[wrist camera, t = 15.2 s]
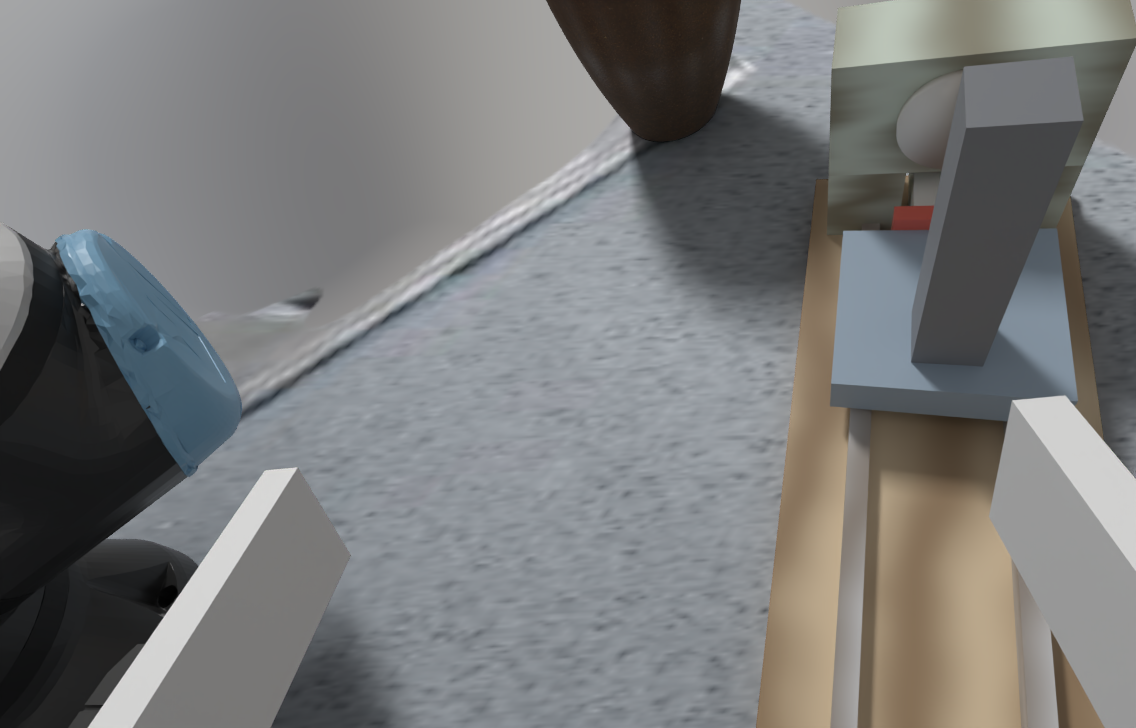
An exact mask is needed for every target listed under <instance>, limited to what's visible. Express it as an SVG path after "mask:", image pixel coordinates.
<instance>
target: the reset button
mask: <svg viewBox="0 0 1136 728" xmlns="http://www.w3.org/2000/svg"><path fill="white" fill-rule="evenodd" d="M940 176H941V171H938V172H914V173H909V179H908V206H894V212H893V219H892V226H891V230H929V228H930V223H931V219H932V214H933V209H934V204H935V200H936V195H937V190H938V186H939V181H940Z"/></svg>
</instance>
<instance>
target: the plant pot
mask: <svg viewBox="0 0 1136 728" xmlns="http://www.w3.org/2000/svg"><path fill="white" fill-rule="evenodd" d="M546 1H547V3H548V5H549V7H550V9H551V11H552V13H553V14H554V16H555V18H556V20H557V22H558V24H559V26H560V27H561V29H562V31H563V33H564V35H565V36H566V38H567V40H568V42H569V43H570V45H571V47H572V48H573V50H574V52H575V53H576V55H577V57H578V58H579V60H580V61H581V63H582V64H583V66H584V67H585V69H586V71H587V72H588V73H589V75H590V77H591V78H592V80H593V81H594V82H595V84H596V85H597V87H598V88H599V89H600V91H601V92H602V94H603V95H604V96H605V98H606V99H607V100H608V102H609V103H610V104H611V105H612V107H613V108H614V109H615V111H616V112H617V113H618V114H619V116H620V117H621V118H622V119H623V120H624V121H625V123H626V124H627V125H628V126H629V127H630V128H631V129H632V131H633V132H634V133H635V134H637V135H638V136H639V137H641V138H643V139H646V140H650V141H659V142H663V141H673V140H677V139H680V138H684V137H686V136H689V135H691V134H692V133H694V132H696V131H698V130H699V129H701V128H702V127H703V126H704V125H705V124H706V123H707V122H708V121H709V120H710V119H711V118H712V116H713V115H714V113H715V111H716V108H717V105H718V101H719V98H720V95H721V92H722V88H723V85H724V81H725V77H726V74H727V70H728V66H729V61H730V57H731V53H732V48H733V44H734V39H735V34H736V28H737V22H738V17H739V11H740V4H741V0H546Z"/></svg>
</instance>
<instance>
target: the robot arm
mask: <svg viewBox="0 0 1136 728" xmlns="http://www.w3.org/2000/svg"><path fill="white" fill-rule="evenodd" d="M55 241H56V242H55V243H54V245H53V246H52V248H51V249H50V250H47V249H44V248H42V247H41V246H39V245H37V244H35V243H34V242H32V241H31V240H29V239H27V238H26V237H24V236H23V235H21V234H20V233H18V232H16V231H15V230H13V229H12V228H10V227H8V226H7V225H5V224H3V223H2V222H0V728H271V726H272V723H273V721H274V719H275V717H276V715H277V713H278V711H279V708H280V706H281V704H282V702H283V700H284V698H285V696H286V693H287V691H288V689H289V687H290V685H291V683H292V681H293V679H294V676H295V674H296V672H297V670H298V668H299V666H300V664H301V661H302V659H303V657H304V655H305V653H306V651H307V649H308V646H309V644H310V642H311V640H312V638H313V636H314V634H315V631H316V629H317V627H318V625H319V623H320V621H321V619H322V616H323V614H324V612H325V610H326V608H327V606H328V604H329V601H330V599H331V597H332V595H333V593H334V591H335V589H336V586H337V584H338V582H339V580H340V578H341V576H342V574H343V571H344V569H345V567H346V565H347V563H348V561H349V559H350V556H351V555H350V553H349V551H348V550H347V548H346V546H345V545H344V543H343V541H342V540H341V538H340V536H339V535H338V533H337V531H336V530H335V528H334V526H333V525H332V523H331V522H330V520H329V518H328V517H327V515H326V513H325V512H324V510H323V508H322V507H321V505H320V503H319V502H318V500H317V498H316V497H315V495H314V493H313V492H312V490H311V488H310V487H309V485H308V484H307V482H306V480H305V479H304V477H303V475H302V474H301V472H300V470H299V469H298V467H297V468H286V469H276V470H265V471H264V473H263V474H262V476H261V477H260V479H259V480H258V481H257V483H256V484H255V486H254V487H253V489H252V490H251V492H250V493H249V495H248V496H247V497H246V499H245V500H244V502H243V503H242V505H241V506H240V508H239V509H238V510H237V512H236V513H235V515H234V516H233V518H232V519H231V521H230V522H229V524H228V525H227V526H226V528H225V529H224V531H223V532H222V534H221V535H220V537H219V538H218V539H217V541H216V542H215V544H214V545H213V547H212V548H211V550H210V551H209V553H208V554H207V555H206V557H205V558H204V560H203V561H202V563H201V564H200V566H199V567H198V566H197V564H196V563H195V562H194V561H193V560H192V559H190V558H189V557H188V556H186V555H185V554H183V553H181V552H179V551H176V550H174V549H171V548H168V547H166V546H163V545H160V544H157V543H154V542H151V541H145V540H138V539H106V538H108V537H109V536H110V535H112V534H113V533H114V532H115V531H117V530H118V529H119V528H121V527H122V526H123V525H125V524H126V523H127V522H129V521H130V520H131V519H133V518H134V517H135V516H137V515H138V514H139V513H140V512H142V511H143V510H144V509H146V508H147V507H148V506H150V505H151V504H152V503H154V502H155V501H156V500H158V499H159V498H160V497H162V496H163V495H164V494H165V493H167V492H168V491H169V490H171V489H172V488H173V487H175V486H176V485H177V484H179V483H180V482H181V481H183V480H184V479H185V478H187V477H190V476H191V475H193V474H194V473H195V472H196V471H197V469H198V465H199V464H201V463H202V462H203V461H204V460H205V459H206V458H207V457H208V456H210V455H211V454H212V453H213V452H214V451H215V450H216V449H217V448H219V447H220V446H221V445H222V444H223V443H224V442H225V441H226V440H227V439H229V438H230V437H231V436H232V435H233V434H234V432H235V430H236V429H237V426H238V424H239V422H240V418H241V413H242V402H241V398H240V395H239V392H238V389H237V387H236V385H235V383H234V381H233V378H232V377H231V375H230V373H229V371H228V370H227V368H226V366H225V365H224V363H223V362H222V360H221V358H220V357H219V355H218V354H217V352H216V351H215V350H214V348H213V347H212V345H211V344H210V343H209V341H208V340H207V339H206V337H205V336H204V334H203V333H202V332H201V331H200V329H199V328H198V327H197V325H196V324H195V323H194V321H193V320H192V319H191V318H190V317H189V315H188V314H187V313H186V312H185V311H184V310H183V308H182V307H181V306H180V305H179V304H178V302H177V301H176V300H175V299H174V298H173V297H172V296H171V294H170V293H169V292H168V291H167V290H166V289H165V288H164V287H163V286H162V284H161V283H159V281H158V280H157V279H156V278H155V277H154V276H153V275H152V274H151V273H150V272H149V271H148V270H147V269H146V268H145V267H144V266H143V265H142V264H141V263H140V262H139V261H138V260H137V259H135V258H134V257H133V256H132V255H131V254H130V253H129V252H128V251H127V250H125V249H124V248H123V247H122V246H121V245H119V244H118V243H117V242H115V241H114V240H112V239H111V238H109V237H108V236H106V235H104V234H100V233H98V232H97V231H94V230H88V229H84V230H80V231H77V232H75V233H73V234H71V235H62V236H60V237H58V238H57V239H56V240H55ZM989 518H990V520H991V522H992V523H993V525H994V527H995V529H996V531H997V532H998V534H999V536H1000V538H1001V540H1002V542H1003V543H1004V545H1005V547H1006V549H1007V551H1008V553H1009V554H1010V556H1011V558H1012V560H1013V562H1014V563H1015V565H1016V567H1017V569H1018V571H1019V573H1020V574H1021V576H1022V578H1023V580H1024V582H1025V583H1026V585H1027V587H1028V589H1029V591H1030V593H1031V594H1032V596H1033V598H1034V600H1035V602H1036V604H1037V605H1038V607H1039V609H1040V611H1041V613H1042V614H1043V616H1044V618H1045V620H1046V622H1047V624H1048V625H1049V627H1050V629H1051V631H1052V633H1053V634H1054V636H1055V638H1056V640H1057V642H1058V644H1059V645H1060V647H1061V649H1062V651H1063V653H1064V655H1065V656H1066V658H1067V660H1068V662H1069V664H1070V665H1071V667H1072V669H1073V671H1074V673H1075V675H1076V676H1077V678H1078V680H1079V682H1080V684H1081V685H1082V687H1083V689H1084V691H1085V693H1086V695H1087V696H1088V698H1089V700H1090V702H1091V704H1092V706H1093V707H1094V709H1095V711H1096V713H1097V715H1098V716H1099V718H1100V720H1101V722H1102V724H1103V726H1104V727H1105V728H1136V479H1135V478H1134V476H1133V475H1132V474H1131V473H1130V472H1129V470H1128V469H1127V468H1126V467H1125V466H1124V465H1123V463H1122V462H1121V461H1120V460H1119V459H1118V457H1117V456H1116V455H1115V454H1114V453H1113V451H1112V450H1111V449H1110V448H1109V447H1108V446H1107V444H1106V443H1105V442H1104V441H1103V440H1102V438H1101V437H1100V436H1099V435H1098V434H1097V432H1096V431H1095V430H1094V429H1093V428H1092V427H1091V425H1090V424H1089V423H1088V422H1087V421H1086V419H1085V418H1084V417H1083V416H1082V415H1081V413H1080V412H1079V411H1078V410H1077V409H1076V408H1075V406H1074V405H1073V404H1072V403H1071V402H1070V400H1069V399H1068V398H1067V397H1066V396H1065V395H1064V396H1054V397H1043V398H1032V399H1022V400H1012V403H1011V408H1010V413H1009V418H1008V423H1007V428H1006V433H1005V438H1004V443H1003V448H1002V453H1001V458H1000V463H999V468H998V473H997V478H996V483H995V488H994V493H993V498H992V503H991V508H990V513H989Z"/></svg>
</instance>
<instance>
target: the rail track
mask: <svg viewBox="0 0 1136 728" xmlns="http://www.w3.org/2000/svg"><path fill="white" fill-rule="evenodd" d="M1135 46H1136V23H1135V19H1134V14H1133V10H1132V6H1131V2H1130V0H894V1H886V2H879V3H871V4H864V5H857V6H849V7H842V8H838V15H837V24H836V33H835V43H834V52H833V62H832V77H831V110H830V144H829V177H828V179H816V186H815V195H814V204H813V214H812V223H811V232H810V241H809V250H808V259H807V268H806V277H805V286H804V295H803V305H802V314H801V323H800V332H799V341H798V350H797V359H796V368H795V377H794V386H793V395H792V405H791V414H790V423H789V432H788V441H787V450H786V459H785V468H784V477H783V486H782V496H781V505H780V514H779V523H778V532H777V541H776V550H775V559H774V568H773V577H772V587H771V596H770V605H769V614H768V623H767V632H766V641H765V650H764V659H763V668H762V678H761V687H760V696H759V705H758V714H757V723H756V728H1105V727H1104V726H1103V724H1102V722H1101V720H1100V718H1099V716H1098V715H1097V713H1096V711H1095V709H1094V707H1093V706H1092V704H1091V702H1090V700H1089V698H1088V696H1087V695H1086V693H1085V691H1084V689H1083V687H1082V685H1081V684H1080V682H1079V680H1078V678H1077V676H1076V675H1075V673H1074V671H1073V669H1072V667H1071V665H1070V664H1069V662H1068V660H1067V658H1066V656H1065V655H1064V653H1063V651H1062V649H1061V647H1060V645H1059V644H1058V642H1057V640H1056V638H1055V636H1054V634H1053V633H1052V631H1051V629H1050V627H1049V625H1048V624H1047V622H1046V620H1045V618H1044V616H1043V614H1042V613H1041V611H1040V609H1039V607H1038V605H1037V604H1036V602H1035V600H1034V598H1033V596H1032V594H1031V593H1030V591H1029V589H1028V587H1027V585H1026V583H1025V582H1024V580H1023V578H1022V576H1021V574H1020V573H1019V571H1018V569H1017V567H1016V565H1015V563H1014V562H1013V560H1012V558H1011V556H1010V554H1009V553H1008V551H1007V549H1006V547H1005V545H1004V543H1003V542H1002V540H1001V538H1000V536H999V534H998V532H997V531H996V529H995V527H994V525H993V523H992V522H991V520H990V518H989V513H990V508H991V503H992V498H993V493H994V488H995V483H996V478H997V473H998V468H999V463H1000V458H1001V453H1002V448H1003V443H1004V438H1005V433H1006V428H1007V423H1008V421H997V420H985V419H974V418H962V417H950V416H938V415H927V414H915V413H903V412H891V411H880V410H868V409H856V408H845V407H833V406H830V396H831V379H832V366H833V354H834V341H835V329H836V316H837V303H838V291H839V278H840V265H841V253H842V240H843V231H871V230H891V226H892V219H893V212H894V206H908V179H909V176H906V173H914V172H938V171H942V167H943V162H944V157H945V153H946V148H947V143H948V139H949V134H950V129H951V124H952V120H953V115H954V110H955V106H956V101H957V96H958V91H959V87H960V82H961V77H962V73H963V68H964V67H966V66H977V65H987V64H998V63H1008V62H1019V61H1029V60H1040V59H1050V58H1061V57H1071V56H1073V58H1074V64H1075V71H1076V77H1077V83H1078V89H1079V95H1080V101H1081V107H1082V114H1083V120H1084V121H1083V123H1082V126H1081V128H1080V131H1079V133H1078V136H1077V138H1076V140H1075V143H1074V145H1073V148H1072V150H1071V153H1070V155H1069V158H1068V160H1067V162H1066V165H1065V167H1064V170H1063V172H1062V175H1061V177H1060V180H1059V182H1058V184H1057V187H1056V189H1055V192H1054V194H1053V197H1052V199H1051V202H1050V204H1049V206H1048V209H1047V211H1046V214H1045V216H1044V219H1043V221H1042V224H1041V226H1040V228H1039V229H1047V228H1057V232H1058V240H1059V249H1060V257H1061V265H1062V273H1063V282H1064V290H1065V298H1066V306H1067V315H1068V323H1069V331H1070V339H1071V348H1072V356H1073V364H1074V372H1075V381H1076V389H1077V397H1078V402H1077V404H1076V405H1075V408H1076V409H1077V410H1078V411H1079V412H1080V413H1081V415H1082V416H1083V417H1084V418H1085V419H1086V421H1087V422H1088V423H1089V424H1090V425H1091V427H1092V428H1093V429H1094V430H1095V431H1096V432H1097V434H1098V435H1099V436H1100V437H1101V438H1102V440H1103V441H1104V438H1103V430H1102V423H1101V416H1100V409H1099V401H1098V394H1097V387H1096V380H1095V372H1094V365H1093V358H1092V351H1091V343H1090V336H1089V329H1088V322H1087V314H1086V307H1085V300H1084V293H1083V285H1082V278H1081V271H1080V263H1079V256H1078V249H1077V242H1076V234H1075V227H1074V220H1073V213H1072V205H1071V198H1070V195H1071V192H1072V190H1073V188H1074V186H1075V183H1076V181H1077V179H1078V176H1079V174H1080V172H1081V170H1082V167H1083V165H1084V163H1085V160H1086V158H1087V156H1088V154H1089V151H1090V149H1091V147H1092V144H1093V142H1094V140H1095V138H1096V135H1097V133H1098V131H1099V128H1100V126H1101V124H1102V122H1103V119H1104V117H1105V115H1106V112H1107V110H1108V108H1109V105H1110V103H1111V101H1112V99H1113V96H1114V94H1115V92H1116V90H1117V87H1118V85H1119V83H1120V80H1121V78H1122V76H1123V74H1124V71H1125V69H1126V67H1127V64H1128V62H1129V60H1130V58H1131V55H1132V53H1133V51H1134V48H1135Z"/></svg>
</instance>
